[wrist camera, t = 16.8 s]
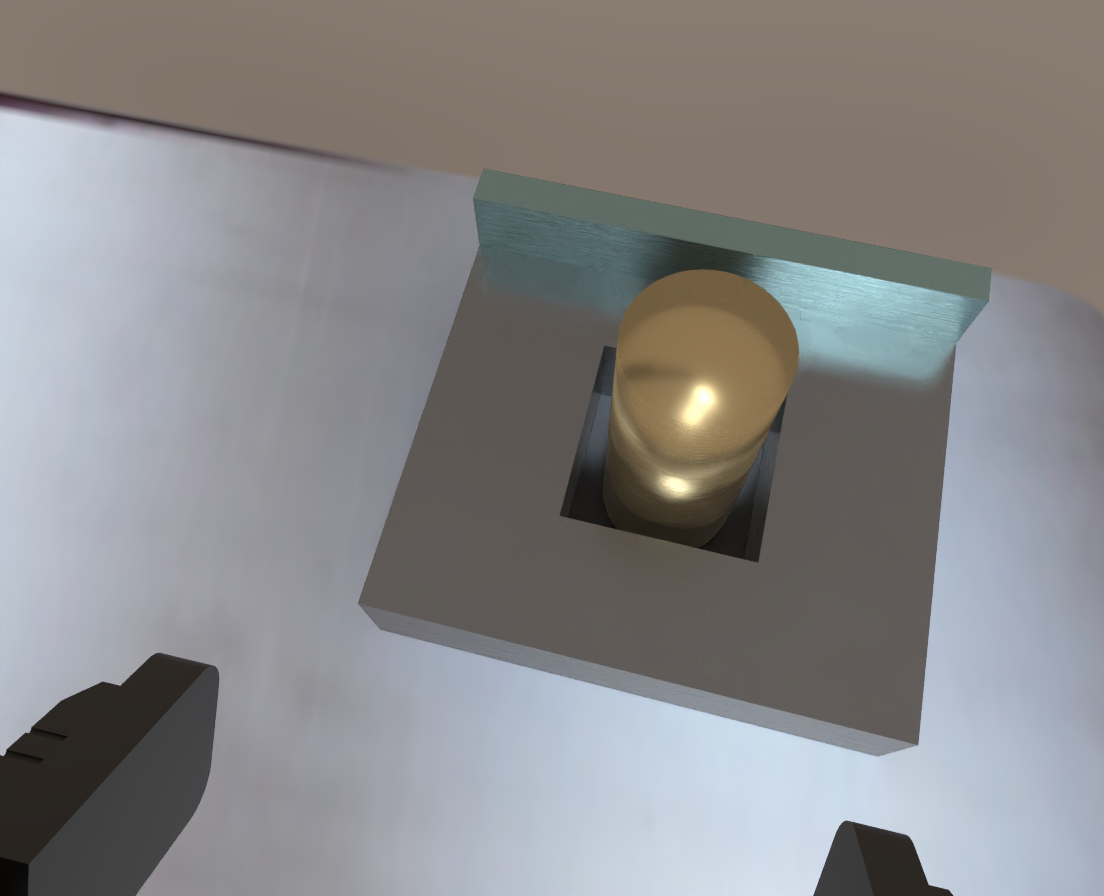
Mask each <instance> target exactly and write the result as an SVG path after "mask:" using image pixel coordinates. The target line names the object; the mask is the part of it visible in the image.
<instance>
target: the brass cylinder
mask: <svg viewBox="0 0 1104 896" xmlns="http://www.w3.org/2000/svg"><path fill="white" fill-rule="evenodd" d="M798 361H799V344H798V339H797V334H796V331H795V328H794V326H793V323H792V321H791V319H790V317H789V316H788V314H787V312H786V311H785V310H784V308H783V307H782V305H781V304H780V303H779V302H778V301H777V300H776V299H775V298H774V297H773V296H772V295H771V294H770V293H768V292H767V291H766V290H765V289H763V288H762V287H760V286H759V285H757V284H756V283H754V282H752V281H750V280H748V279H746V278H743V277H741V276H738V275H735V274H732V273H728V272H724V271H717V270H703V269H700V270H688V271H683V272H678V273H675V274H672V275H669V276H666V277H664V278H662V279H659V280H657V281H656V282H654V283H653V284H651V285H649V286H648V287H647V288H645V289H644V290H643V291H642V292H640V294H639V295H638V296H637V297H636V298H635V299H634V300H633V301H632V303H631V304H630V305H629V307H628V308H627V310H626V312H625V314H624V316H623V318H622V321H621V324H620V328H619V334H618V341H617V351H616V361H615V371H614V381H613V391H612V401H611V411H610V421H609V431H608V441H607V451H606V461H605V471H604V481H603V500H604V505H605V509H606V511H607V514H608V516H609V518H610V520H611V522H612V523H613V525H614V526H615V527H616V529H617V530H621V531H626V532H630V533H634V534H638V535H643V536H647V537H651V538H655V539H660V540H664V541H668V542H672V543H676V544H681V545H685V546H689V547H693V548H699V547H700V546H702V545H704V544H706V543H707V542H708V541H710V540H711V539H712V538H713V537H714V536H715V535H717V533H718V532H719V531H720V530H721V528H722V527H723V525H724V523H725V522H726V520H727V518H728V516H729V513H730V511H731V509H732V507H733V505H734V503H735V501H736V499H737V497H738V495H739V493H740V490H741V488H742V486H743V484H744V482H745V480H746V478H747V476H748V474H749V472H750V470H751V468H752V465H753V463H754V461H755V459H756V457H757V455H758V453H759V451H760V449H761V447H762V445H763V443H764V440H765V438H766V436H767V434H768V432H769V430H770V428H771V426H772V424H773V422H774V420H775V418H776V415H777V413H778V411H779V409H780V407H781V405H782V403H783V401H784V399H785V397H786V395H787V392H788V390H789V388H790V386H791V384H792V382H793V379H794V377H795V375H796V371H797V367H798Z"/></svg>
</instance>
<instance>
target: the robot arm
mask: <svg viewBox="0 0 1104 896" xmlns="http://www.w3.org/2000/svg"><path fill="white" fill-rule="evenodd" d="M218 688H219V673H218V669H217V668H216V667H215V666H212V665H208V664H204V663H200V662H196V661H192V660H188V659H183V658H179V657H175V656H171V655H167V654H163V653H156V654H154V655H152V656H151V657H150V658H149V659H148V660H147V661H146V662H145V663H144V664H143V665H142V666H141V667H139V668H138V669H137V670H136V671H135V672H134V673H133V674H132V675H131V676H130V677H129V678H128V679H127V680H126V681H125V682H124V683H123V684H122V685H121V686H119V685H115V684H111V683H106V682H101V683H99V684H97V685H95V686H92V687H90V688H88V689H86V690H84V691H81V692H79V693H77V694H75V695H73V696H71V697H68V698H66V699H64V700H62V701H61V702H59V703H58V704H57V705H56V706H55V707H54V708H53V709H52V710H50V711H49V712H48V713H47V714H46V715H45V716H44V717H43V718H41V719H40V720H39V721H38V722H37V723H36V724H35V725H34V726H33V727H32V728H31V731H30V733H25V734H24V735H22V736H21V737H20V738H19V739H18V740H17V741H16V742H15V743H13V744H12V745H11V746H10V747H9V748H8V749H7V751H6V754H5V755H4V756H1V755H0V896H136V894H137V893H138V891H139V890H140V889H141V887H142V886H143V884H144V883H145V882H146V880H147V879H148V877H149V876H150V875H151V873H152V872H153V871H154V869H155V868H156V866H157V865H158V864H159V862H160V861H161V859H162V858H163V857H164V855H165V854H166V852H167V851H168V850H169V848H170V847H171V846H172V844H173V843H174V841H175V840H176V839H177V837H178V836H179V834H180V833H181V832H182V830H183V829H184V827H185V826H186V825H187V823H188V822H189V821H190V819H191V818H192V816H193V814H194V813H195V811H196V809H197V807H198V805H199V803H200V801H201V798H202V796H203V793H204V791H205V788H206V785H207V781H208V778H209V773H210V768H211V760H212V749H213V739H214V729H215V719H216V709H217V699H218ZM813 896H953V895H952V893H951V892H950V891H949V890H947V889H943V888H939V887H934V886H930V885H928V882H927V879H926V876H925V874H924V871H923V868H922V866H921V863H920V860H919V858H918V855H917V852H916V850H915V847H914V844H913V842H912V840H911V839H910V837H908V836H907V835H904V834H900V833H896V832H892V831H888V830H884V829H880V828H875V827H871V826H867V825H863V824H859V823H855V822H851V821H844V822H843V823H842V824H841V825H840V826H839V828H838V830H837V832H836V835H835V837H834V840H833V843H832V845H831V848H830V851H829V854H828V857H827V859H826V862H825V865H824V868H823V870H822V873H821V876H820V879H819V882H818V884H817V887H816V890H815V893H814V895H813Z"/></svg>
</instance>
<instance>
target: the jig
mask: <svg viewBox="0 0 1104 896" xmlns="http://www.w3.org/2000/svg"><path fill="white" fill-rule="evenodd" d="M473 200H474V207H475V214H476V221H477V228H478V235H479V243H480V246H479V249H478V252H477V255H476V258H475V261H474V264H473V267H472V270H471V273H470V276H469V279H468V281H467V284H466V287H465V290H464V293H463V296H462V299H461V302H460V305H459V308H458V311H457V314H456V317H455V320H454V323H453V326H452V329H451V331H450V334H449V337H448V340H447V343H446V346H445V349H444V352H443V355H442V358H441V361H440V364H439V367H438V370H437V373H436V376H435V379H434V381H433V384H432V387H431V390H430V393H429V396H428V399H427V402H426V405H425V408H424V411H423V414H422V417H421V420H420V423H419V426H418V428H417V431H416V434H415V437H414V440H413V443H412V446H411V449H410V452H409V455H408V458H407V461H406V464H405V467H404V470H403V473H402V476H401V478H400V481H399V484H398V487H397V490H396V493H395V496H394V499H393V502H392V505H391V508H390V511H389V514H388V517H387V520H386V523H385V526H384V528H383V531H382V534H381V537H380V540H379V543H378V546H377V549H376V552H375V555H374V558H373V561H372V564H371V567H370V570H369V573H368V576H367V578H366V581H365V584H364V587H363V590H362V593H361V596H360V599H359V602H358V604H359V605H360V607H361V608H362V609H363V610H364V611H365V612H366V613H367V615H368V616H369V617H370V618H371V619H372V620H373V622H374V623H375V624H376V625H377V626H378V627H379V629H381V630H385V631H389V632H393V633H397V634H400V635H404V636H408V637H412V638H416V639H420V640H424V641H428V642H432V643H436V644H440V645H444V646H447V647H451V648H455V649H459V650H463V651H467V652H471V653H475V654H479V655H483V656H487V657H491V658H494V659H498V660H502V661H506V662H510V663H514V664H518V665H522V666H526V667H530V668H534V669H538V670H541V671H545V672H549V673H553V674H557V675H561V676H565V677H569V678H573V679H577V680H581V681H585V682H588V683H592V684H596V685H600V686H604V687H608V688H612V689H616V690H620V691H624V692H628V693H632V694H635V695H639V696H643V697H647V698H651V699H655V700H659V701H663V702H667V703H671V704H675V705H679V706H682V707H686V708H690V709H694V710H698V711H702V712H706V713H710V714H714V715H718V716H722V717H726V718H729V719H733V720H737V721H741V722H745V723H749V724H753V725H757V726H761V727H765V728H769V729H773V730H776V731H780V732H784V733H788V734H792V735H796V736H800V737H804V738H808V739H812V740H816V741H820V742H823V743H827V744H831V745H835V746H839V747H843V748H847V749H851V750H855V751H859V752H863V753H867V754H870V755H874V756H881V755H885V754H888V753H892V752H895V751H899V750H903V749H906V748H910V747H913V746H917V745H918V741H919V731H920V720H921V710H922V699H923V689H924V678H925V667H926V657H927V646H928V636H929V625H930V615H931V604H932V593H933V583H934V572H935V562H936V551H937V541H938V530H939V519H940V509H941V498H942V488H943V477H944V467H945V456H946V446H947V435H948V424H949V414H950V403H951V393H952V382H953V372H954V361H955V350H956V343H957V341H958V340H959V339H960V338H961V336H962V335H963V334H964V332H965V331H966V330H967V329H968V327H969V326H970V325H971V323H972V322H973V321H974V320H975V318H976V317H977V316H978V314H979V313H980V312H981V311H982V309H983V308H984V307H985V306H986V304H987V303H988V302H989V293H990V281H991V268H988V267H983V266H977V265H972V264H967V263H962V262H957V261H952V260H947V259H942V258H937V257H932V256H927V255H921V254H916V253H911V252H906V251H901V250H896V249H891V248H885V247H881V246H876V245H870V244H865V243H860V242H855V241H850V240H845V239H840V238H834V237H830V236H824V235H819V234H814V233H809V232H804V231H799V230H794V229H789V228H783V227H779V226H774V225H768V224H763V223H758V222H753V221H748V220H743V219H738V218H733V217H728V216H722V215H717V214H712V213H707V212H702V211H697V210H692V209H687V208H682V207H676V206H671V205H666V204H661V203H656V202H651V201H646V200H641V199H636V198H631V197H626V196H620V195H615V194H610V193H605V192H600V191H595V190H590V189H585V188H579V187H575V186H569V185H564V184H559V183H554V182H549V181H544V180H539V179H534V178H529V177H523V176H519V175H513V174H508V173H503V172H498V171H493V170H488V169H483V172H482V175H481V177H480V180H479V183H478V186H477V189H476V192H475V194H474V197H473ZM700 269H703V270H717V271H724V272H728V273H732V274H735V275H738V276H741V277H743V278H746V279H748V280H750V281H752V282H754V283H756V284H757V285H759V286H760V287H762V288H763V289H765V290H766V291H767V292H768V293H770V294H771V295H772V296H773V297H774V298H775V299H776V300H777V301H778V302H779V303H780V304H781V305H782V307H783V308H784V310H785V311H786V312H787V314H788V316H789V317H790V319H791V321H792V323H793V326H794V328H795V331H796V334H797V339H798V344H799V361H798V367H797V371H796V375H795V377H794V379H793V382H792V384H791V386H790V388H789V390H788V392H787V395H786V397H785V399H784V401H783V403H782V405H781V407H780V409H779V411H778V413H777V415H776V418H775V420H774V422H773V424H772V426H771V428H770V430H769V432H768V434H767V436H766V438H765V443H764V448H763V454H762V459H761V465H760V471H759V476H758V482H757V487H756V493H755V499H754V504H753V510H752V515H751V521H750V527H749V532H748V538H747V544H746V549H745V555H744V559H740V558H736V557H732V556H727V555H723V554H719V553H715V552H710V551H706V550H702V549H698V548H693V547H689V546H685V545H681V544H676V543H672V542H668V541H664V540H660V539H655V538H651V537H647V536H643V535H638V534H634V533H630V532H626V531H621V530H617V529H613V528H609V527H604V526H600V525H596V524H592V523H588V522H583V521H579V520H575V519H571V518H568V517H569V513H570V509H571V505H572V502H573V498H574V494H575V490H576V486H577V482H578V478H579V475H580V471H581V467H582V463H583V459H584V455H585V451H586V448H587V444H588V440H589V436H590V432H591V428H592V424H593V421H594V417H595V413H596V409H597V405H598V401H599V398H600V394H604V395H608V396H612V391H613V381H614V371H615V361H616V351H617V341H618V334H619V328H620V324H621V321H622V318H623V316H624V314H625V312H626V310H627V308H628V307H629V305H630V304H631V303H632V301H633V300H634V299H635V298H636V297H637V296H638V295H639V294H640V292H642V291H643V290H644V289H645V288H647V287H648V286H649V285H651V284H653V283H654V282H656V281H657V280H659V279H662V278H664V277H666V276H669V275H672V274H675V273H678V272H683V271H688V270H700Z"/></svg>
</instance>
